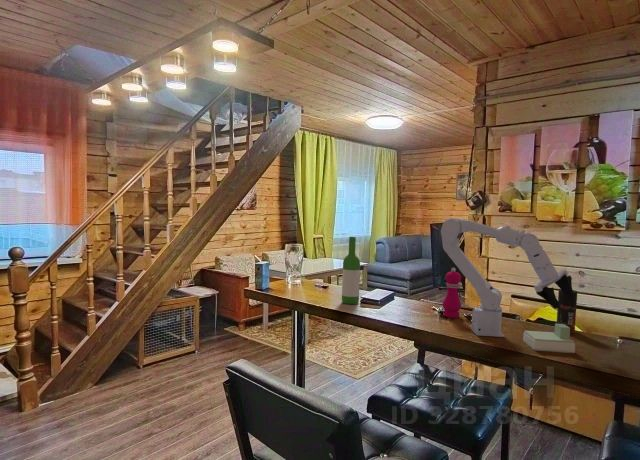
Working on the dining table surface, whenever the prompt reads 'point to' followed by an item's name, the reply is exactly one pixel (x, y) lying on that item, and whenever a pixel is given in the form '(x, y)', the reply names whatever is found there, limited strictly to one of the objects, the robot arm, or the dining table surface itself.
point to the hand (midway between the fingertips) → (564, 303)
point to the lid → (552, 335)
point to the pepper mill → (452, 295)
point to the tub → (549, 345)
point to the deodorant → (567, 310)
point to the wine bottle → (351, 275)
